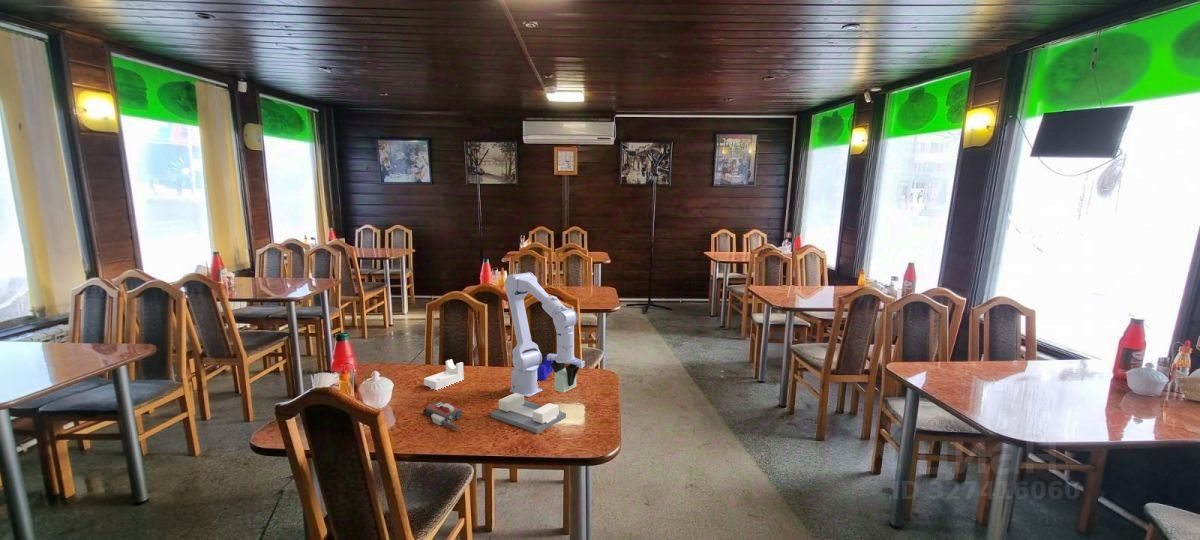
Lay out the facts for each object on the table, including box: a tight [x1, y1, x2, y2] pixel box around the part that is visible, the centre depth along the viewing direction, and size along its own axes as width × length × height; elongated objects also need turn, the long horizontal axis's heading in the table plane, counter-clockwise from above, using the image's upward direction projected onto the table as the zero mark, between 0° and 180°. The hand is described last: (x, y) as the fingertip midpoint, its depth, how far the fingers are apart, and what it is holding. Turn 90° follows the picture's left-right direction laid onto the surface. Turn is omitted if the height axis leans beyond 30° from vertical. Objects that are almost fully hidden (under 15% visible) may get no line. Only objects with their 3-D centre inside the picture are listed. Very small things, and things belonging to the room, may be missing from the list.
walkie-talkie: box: [422, 401, 463, 431], centre depth 161 cm, size 9×4×20 cm
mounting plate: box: [490, 393, 567, 434], centre depth 163 cm, size 20×14×5 cm
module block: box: [553, 367, 577, 393], centre depth 170 cm, size 4×7×6 cm, turn 146°
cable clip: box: [537, 356, 553, 382], centre depth 202 cm, size 12×4×6 cm, turn 170°
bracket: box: [423, 358, 465, 391], centre depth 192 cm, size 13×7×8 cm, turn 146°
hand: (565, 383), depth 170 cm, fingers closed on module block, 4 cm apart
